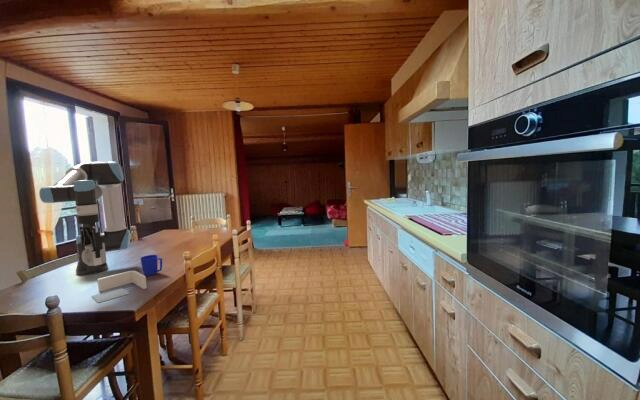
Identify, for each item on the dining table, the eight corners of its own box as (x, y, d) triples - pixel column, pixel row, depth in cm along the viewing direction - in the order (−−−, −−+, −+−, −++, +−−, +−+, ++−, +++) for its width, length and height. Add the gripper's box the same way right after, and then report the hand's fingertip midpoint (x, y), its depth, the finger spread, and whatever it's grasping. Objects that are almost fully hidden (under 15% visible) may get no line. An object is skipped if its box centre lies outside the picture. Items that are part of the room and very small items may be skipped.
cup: (110, 261, 139) (108, 242, 138) (90, 268, 129) (87, 248, 128) (97, 261, 140) (95, 242, 139) (76, 267, 130) (74, 248, 130)
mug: (157, 277, 160) (155, 259, 159) (138, 276, 162) (136, 258, 161) (168, 271, 168) (166, 254, 167) (150, 271, 170) (148, 254, 169)
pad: (91, 296, 137) (91, 295, 137) (121, 288, 146) (121, 287, 146) (98, 303, 129) (97, 302, 129) (129, 293, 138) (129, 293, 138)
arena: (98, 290, 143) (97, 278, 143) (135, 280, 155) (133, 269, 155) (108, 299, 132) (106, 286, 132) (146, 288, 144) (145, 276, 144)
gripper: (67, 215, 134) (73, 263, 136) (88, 216, 124) (95, 268, 126) (87, 212, 141) (92, 259, 143) (108, 213, 131) (114, 263, 133)
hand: (93, 263), depth 135 cm, fingers closed on cup, 7 cm apart
